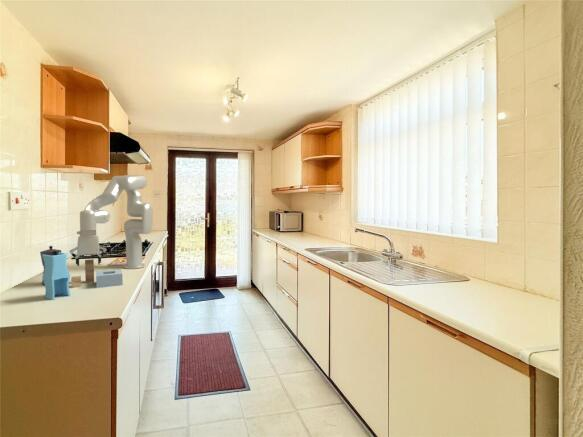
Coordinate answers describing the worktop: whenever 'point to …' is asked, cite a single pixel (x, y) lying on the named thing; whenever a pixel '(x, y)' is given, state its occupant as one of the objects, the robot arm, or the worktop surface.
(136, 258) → the robot arm
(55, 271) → the blue hollow-base tower
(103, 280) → the socket block
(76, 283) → the oak peg short
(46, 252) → the moka pot
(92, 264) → the walnut peg long
